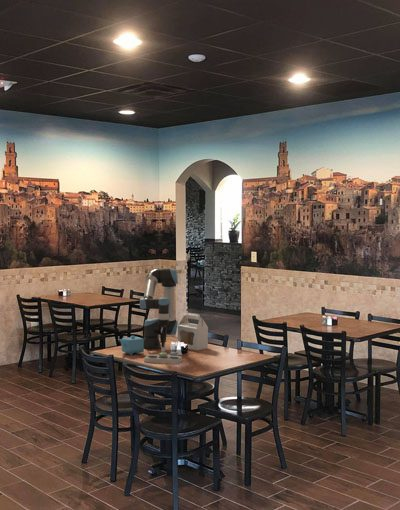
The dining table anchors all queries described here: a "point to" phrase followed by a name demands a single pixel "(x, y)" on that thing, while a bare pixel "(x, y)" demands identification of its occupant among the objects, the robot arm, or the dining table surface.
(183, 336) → the gable box
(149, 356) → the button board
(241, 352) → the dining table surface
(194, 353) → the dining table surface
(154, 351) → the terracotta button
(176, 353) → the slate blue button
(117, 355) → the dining table surface
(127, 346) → the teapot
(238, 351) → the dining table surface
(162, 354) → the sage green button
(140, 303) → the robot arm
